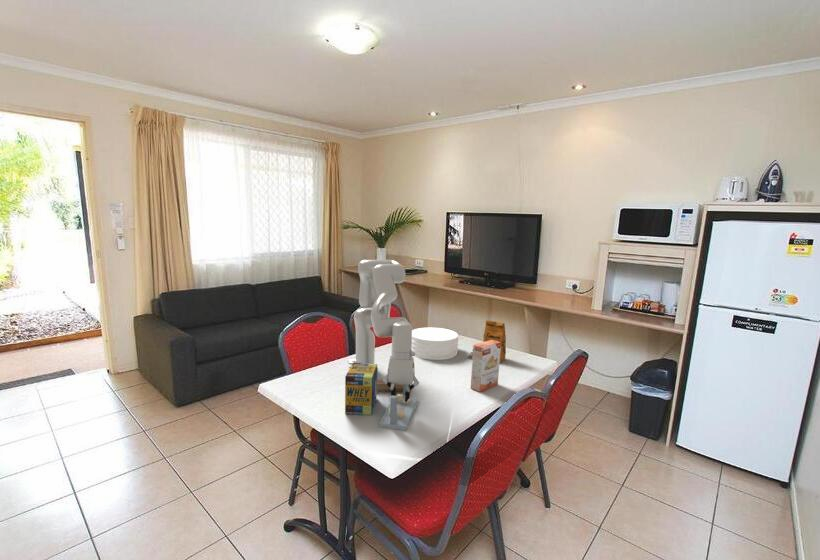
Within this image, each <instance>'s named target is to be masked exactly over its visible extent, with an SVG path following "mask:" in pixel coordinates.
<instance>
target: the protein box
mask: <svg viewBox="0 0 820 560" xmlns="http://www.w3.org/2000/svg"><path fill="white" fill-rule="evenodd" d="M344 377H345V379H344V380H345V381H344V385H345V386H344V387H345V388H344V389H345V390H344V392H345V394H344V398H345V399H344V403H345V404H344V413H345V415H353V416H354V415H357V416H372V414H373V411H374V407H375V406H376V405H375V404H376V401H377V393H378V392H377V380H378V364H377V363H374V364H367V363H353V364H351V365H350V368H349V369H348V371H347V372H346V375H345V376H344Z"/></svg>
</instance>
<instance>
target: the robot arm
mask: <svg viewBox="0 0 820 560" xmlns="http://www.w3.org/2000/svg"><path fill="white" fill-rule="evenodd" d="M357 273H358V275H359V280H360V281H359V283H360V285H359V294H358V304H359V305H360V307H362V308H358V309H357V310H355V312H354V314H353V319H354V326H355V359H348V360H347V363H348V365H352V364H353V363H367V364H375V360H376V359H375V351H376V349H375V347H376V346H375V345H376V337H378V338H391V355H390V357H389V361H388V367H387V374H386V375H385V376H384V377H383V379H382V380H383V382H385V383H386V384H387V385H388V386H389V388H390V390H391V392H390V397H391V396H392V395H393V396H396V395H397V393H396V387H395V384H396V383H397V384H405V385H406V392H405V402H407V400H408V399H409V398H410V396H411V390H412V389H414V388H415V387H417V386H419V384H420V382H419V380H418V379H417V377H416V374H415V373H416V371H415V369H416V368H415V367H416V366H415V359H414V357H416V356H415V353H414V352H412V350H411V348H412V330H413V325H412V324H411V322H409V321H408V320H407V318H406V317H403V316H402V317H401V316H398V317H396V316H395V317H393V316H392V317H390V316H391V315H390V314H391V313H390V312H391V305H392V302H394V301H395V300H396V299H397V297H398V291H397V287H396V284H402V283H404V282H405V280H406V270H405V268H404V266H403V265H402V264H401V263H400V262H398V261H396V260H394V259H362V260H360V261H359V262H358V266H357ZM371 328H372V329H373V330H372V329H371ZM375 336H376V337H375Z"/></svg>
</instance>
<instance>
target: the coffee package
mask: <svg viewBox="0 0 820 560" xmlns="http://www.w3.org/2000/svg"><path fill="white" fill-rule="evenodd" d="M505 325H506V324H505V323H504V322H499V321H493V320H487V319H486V320H485V326H484V333H483V337H482V338H483V341H482V342H485V341H489V340H494V341H498V342H501V350H500V362H501V363H502V362H505V361H506V354H507V347H506V346H507V344H506V343H507V342H506V340H507V336H506V326H505ZM504 360H505V361H504Z"/></svg>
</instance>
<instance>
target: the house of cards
mask: <svg viewBox="0 0 820 560" xmlns="http://www.w3.org/2000/svg"><path fill="white" fill-rule="evenodd" d="M467 358H468V360H471V359H473V351H471V352H470V353H469V355H468V356H467V357H466V359H467Z"/></svg>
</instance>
